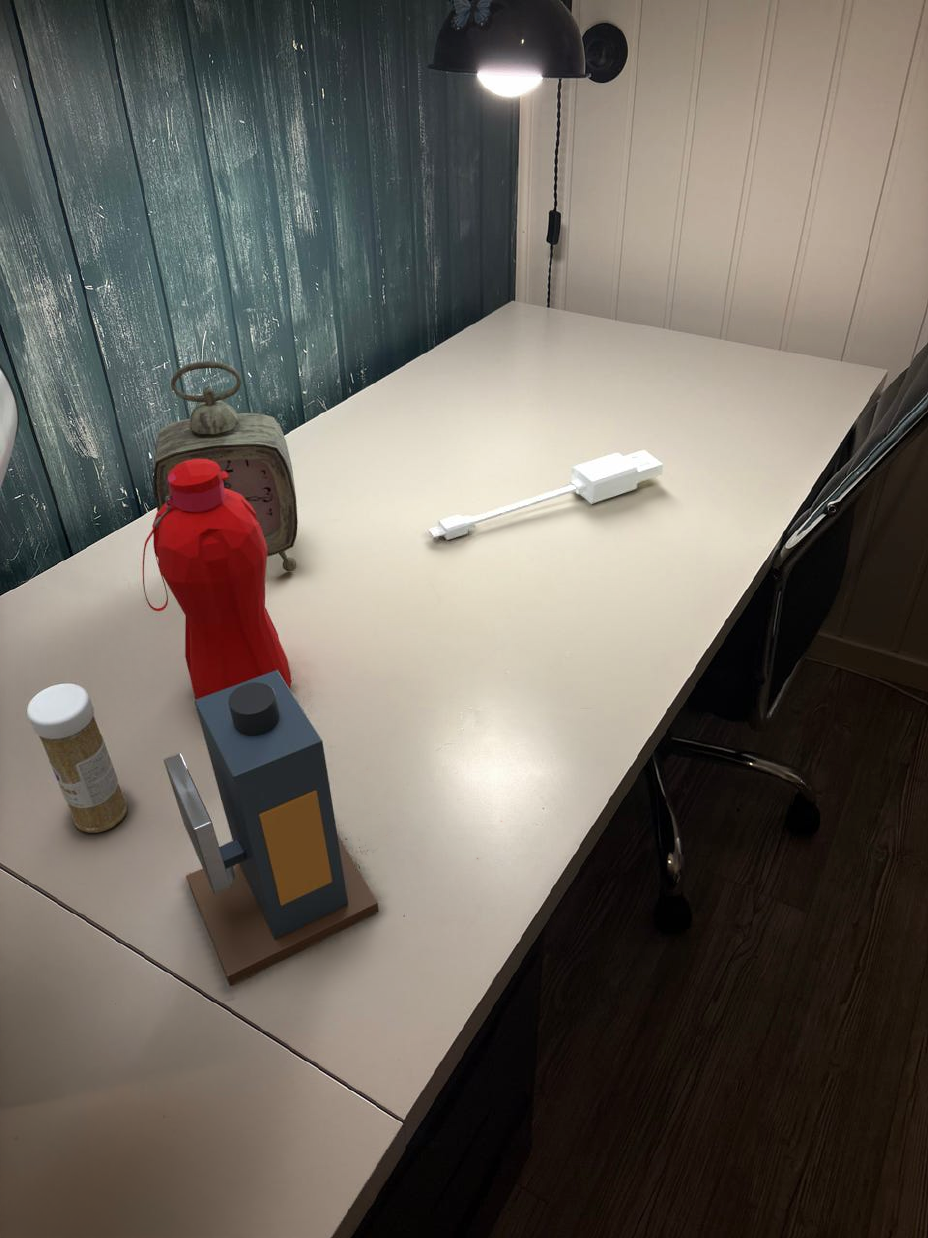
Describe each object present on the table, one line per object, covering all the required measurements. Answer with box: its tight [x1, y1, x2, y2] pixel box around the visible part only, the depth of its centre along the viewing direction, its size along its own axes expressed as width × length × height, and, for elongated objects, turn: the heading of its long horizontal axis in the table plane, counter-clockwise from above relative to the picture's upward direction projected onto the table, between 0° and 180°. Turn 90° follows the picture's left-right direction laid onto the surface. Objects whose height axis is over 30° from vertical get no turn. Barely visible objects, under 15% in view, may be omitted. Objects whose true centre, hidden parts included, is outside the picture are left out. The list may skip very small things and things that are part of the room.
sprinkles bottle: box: [26, 683, 128, 834], centre depth 75 cm, size 5×5×13 cm
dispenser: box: [185, 670, 380, 986], centre depth 65 cm, size 12×10×21 cm
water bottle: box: [142, 459, 293, 701], centre depth 83 cm, size 9×11×25 cm
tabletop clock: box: [152, 360, 299, 573], centre depth 100 cm, size 14×9×25 cm, turn 102°
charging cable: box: [427, 449, 664, 541], centre depth 116 cm, size 5×32×3 cm, turn 117°
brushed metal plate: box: [163, 753, 231, 894], centre depth 63 cm, size 1×7×7 cm, turn 30°
